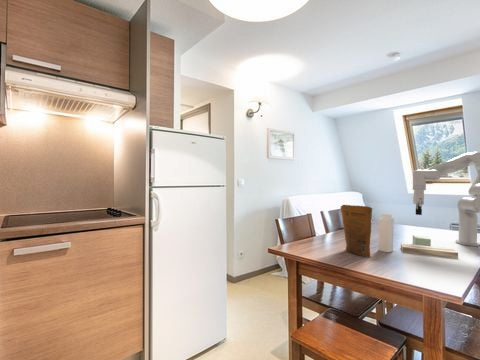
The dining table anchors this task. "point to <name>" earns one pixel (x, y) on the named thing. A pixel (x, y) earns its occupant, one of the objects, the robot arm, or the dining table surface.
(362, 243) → the pancake mix bag
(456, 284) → the dining table surface
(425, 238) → the block
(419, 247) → the board
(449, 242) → the dining table surface
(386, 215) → the milk
